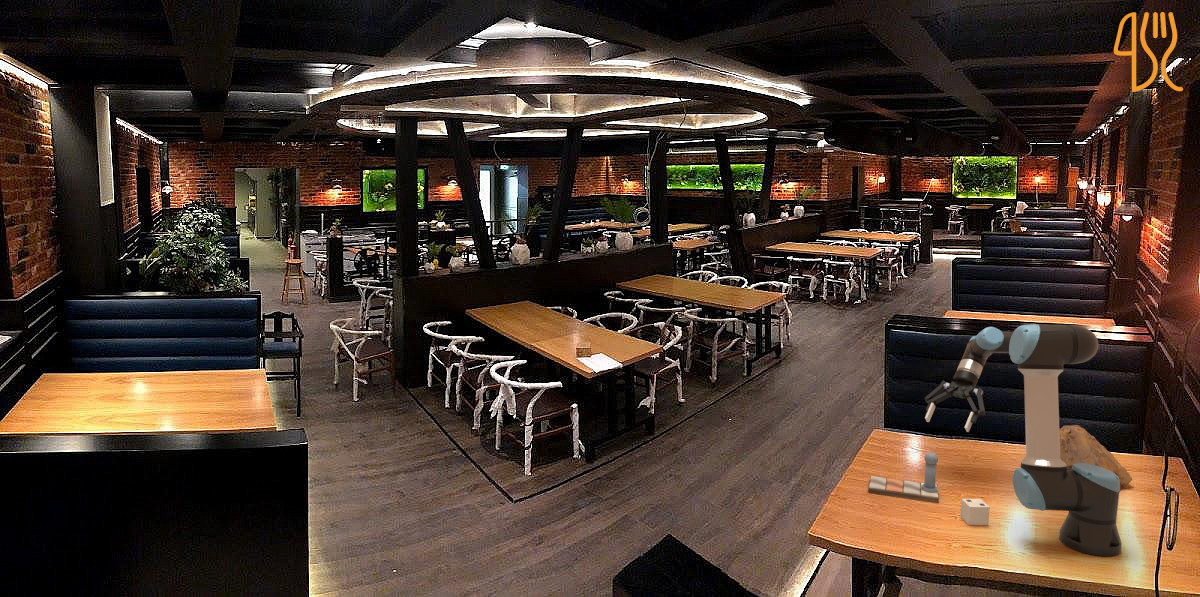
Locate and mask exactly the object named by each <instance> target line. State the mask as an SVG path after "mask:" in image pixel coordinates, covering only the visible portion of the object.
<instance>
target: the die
mask: <svg viewBox="0 0 1200 597" xmlns="http://www.w3.org/2000/svg"><path fill="white" fill-rule="evenodd" d="M960 500H961V502H960V503H961V505H960V515H959V516H960V518H961V519H962V520H963V521H964V522H965V523H966V524H967V525H968V526H989V523H990V512H991V511H990V506H989V505H988V504H987V503H986V502H985V501H984V500H983V499H982V498H961V499H960Z"/></svg>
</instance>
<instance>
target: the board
mask: <svg viewBox="0 0 1200 597" xmlns="http://www.w3.org/2000/svg"><path fill="white" fill-rule="evenodd" d="M869 478H870V479H869V482H868V483H869V484H868V492H869V493H868V494H873V493H874V494H875V495H880V496H881V495H882V496H888V497H893V498H895V497H896V498H901V499H902V498H903V499H908V500H915V501H923V502H930V503H937V504H939V502H940V501H939V499H940V498H939V486H938V484H935V486H937V492H935V493H929V492H925V491H923V490H922V485H923V484H924V482H919V481H910V480H903V479H896V478H889V477H881V476H876V475H875V476H874V475H870V477H869Z"/></svg>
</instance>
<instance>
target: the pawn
mask: <svg viewBox="0 0 1200 597" xmlns="http://www.w3.org/2000/svg"><path fill="white" fill-rule="evenodd" d="M924 461H925V467H924V482H923V483H924V484H923V485H922V490H923V491H925V492H929V493H935V492H937V486H935V485H936V480H937V478H936V477H937V463H938V461H939V457H938V455H937V454H936V453H934V452H926V454H925V455H924Z"/></svg>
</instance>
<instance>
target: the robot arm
mask: <svg viewBox="0 0 1200 597" xmlns="http://www.w3.org/2000/svg"><path fill="white" fill-rule="evenodd" d="M1098 350H1099V340H1098V337H1097V336H1096V335H1095V333H1094V332H1092V331H1091V330H1090V329H1089V328H1086V327H1084V326H1081V325H1076V324H1038V323H1037V324H1036V323H1033V324H1021V325H1020V326H1018V327H1017V328H1015V329H1014V331H1002V330H1000V328H999V329H998V328H997V327H994V326H988V327H985V328H984V329H982V330H981V331H979V332H978V334H977V335H972V337H971V338H970V339H969V341H968V342H967V344H966V348H965V350H964V353H963V355H962V358H961V359H960V362H959V364H958V366H957V369H956V371H955V373H954V375H953V378H952V381H951V382H950V383H949V382H946V381H945V380H942V381H941V382H940V384H939V385H938V386H937V387H936V388H934V389H933V390H932V391H931V392H929V394H927V395H926V396H925V397H924V400H925V403H926V404H927V406H926V409H925V411H926V413H925V417H924V419H925V421H926V422H927V423H930V421H931V419H932V416H933V414H934V411H935V409H936V405H937V404H940V403H941V402H943V401H945V400H947V399H949V398H952V397H954V398H960V399H962V400H963V399H966V400H967V401H968V403H969V405H970V408H971V409H972V411H970V413H969V416H968V418H967V420H966V423H965V425H964V429H965V431H966V433H967V432H968V433H969V432H970V430H971V427H972V425H973V424H976V422H977V420H978V417H979V416H983V417H984V416H986V410H985V405H984V400H983V399H984V398H983V395H984V391H983V389H982V388H981V387H979V388H976V386H977V383H978V381H979V379H980V377H981V374H982V371H983V368H984V366H985V364H986V362H987V360H988V358H989V357H990V356H991V355H992V354H1008V355H1009V356H1010V358H1009V359H1010V360H1011V361H1012V363H1014V364H1016V365H1017V370H1018V371H1019V372H1020V373H1021V374H1022V375H1023V384H1024V385H1023V386H1024V387H1023V388H1024V389H1023V390H1024V395H1023V396H1024V420H1025V421H1024V422H1025V423H1024V424H1025V425H1024V426H1025V457H1024V458H1022V459H1021V460H1020V467H1017V468H1015V469H1014V471H1013V473H1012V485H1013V489H1014V493H1015V495H1016V498H1017V499H1018V501H1019V502H1020V504H1021V505H1022V506H1023V507H1025V508H1026V509H1028V510H1039V511H1041V512H1042V511H1043V512H1044V511H1058V512H1059V511H1061V512H1062V511H1063V512H1067V515H1066V518H1065V519H1064V522H1063V523H1062V525H1061V527H1060V528H1059V535H1058V536H1059V537H1058V539H1059V541H1061V542H1060V543H1062V544H1064V545H1065V546H1067V547H1069V548H1070V549H1071V550H1075V551H1077V552H1080V553H1083V554H1088V555H1092V556H1097V557H1098V556H1099V557H1113V556H1118V555H1119V554H1120V553H1121V552H1122V541H1121V536H1120V533H1119V529H1118V526H1117V519H1118V518H1117V517H1118V509H1119V508H1118V507H1119V499H1120V493H1121V485H1120V479H1119V477H1118V476H1117V475H1116V474H1115V473H1113V472H1111V471H1109V470H1107V469H1105V468H1102V467H1099V466H1095V465H1091V464H1086V463H1076V464H1073V466H1072V470H1067V465H1066V464H1065V463H1064V462H1063V461H1062V460H1061V458H1060V434H1059V429H1060V409H1059V407H1060V406H1059V404H1060V403H1059V379H1058V378H1059V375H1060V374H1061V373H1063V372H1064V365H1077V364H1081V363H1085V362H1088V361H1090V360H1091V359H1092V358H1093V357H1095V356H1096V354H1097V352H1098ZM973 394H975V395H976V397H977V402H978V407H979V409H978V408H977V407H976V405H975V403H974V401H973V398H972V397H971V396H972V395H973Z"/></svg>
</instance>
